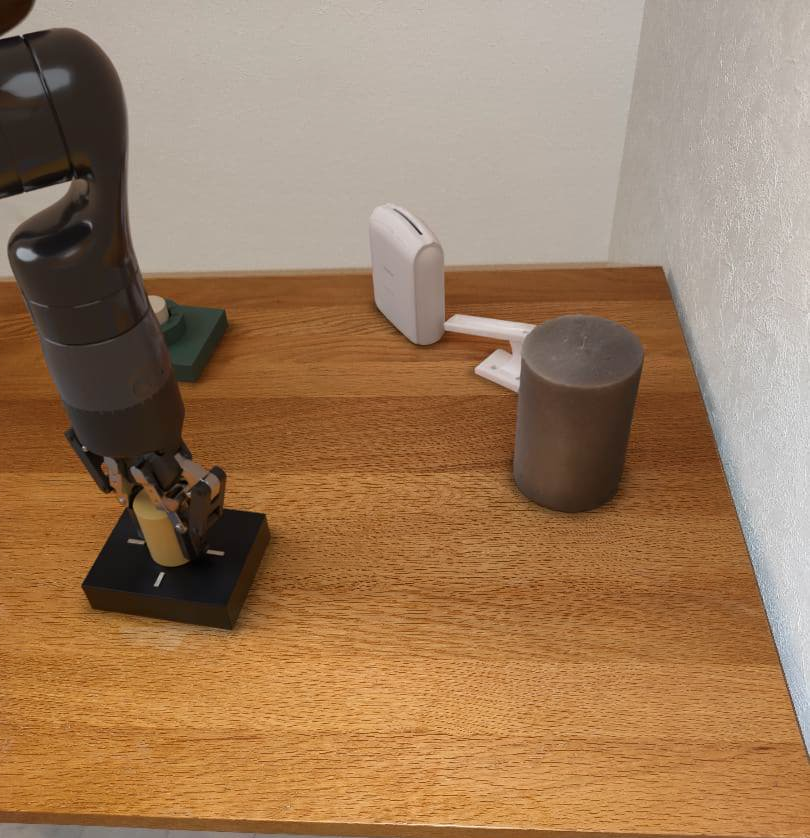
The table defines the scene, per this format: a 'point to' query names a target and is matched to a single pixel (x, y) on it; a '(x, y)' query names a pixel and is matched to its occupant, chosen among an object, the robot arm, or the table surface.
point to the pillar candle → (575, 410)
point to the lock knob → (158, 531)
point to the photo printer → (408, 273)
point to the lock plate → (180, 573)
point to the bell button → (159, 308)
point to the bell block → (192, 337)
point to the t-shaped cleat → (499, 363)
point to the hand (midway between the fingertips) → (174, 541)
